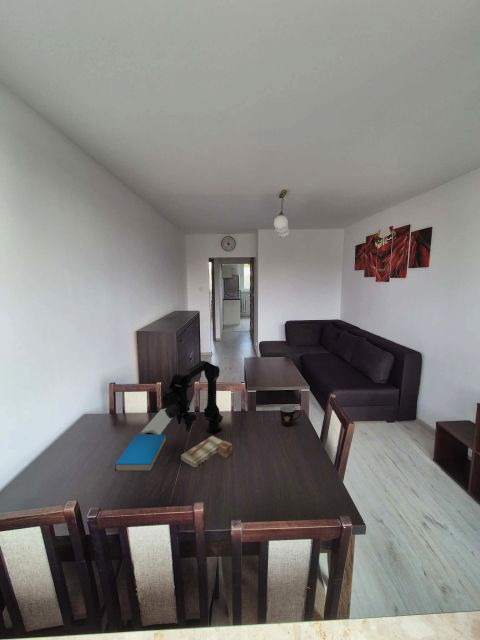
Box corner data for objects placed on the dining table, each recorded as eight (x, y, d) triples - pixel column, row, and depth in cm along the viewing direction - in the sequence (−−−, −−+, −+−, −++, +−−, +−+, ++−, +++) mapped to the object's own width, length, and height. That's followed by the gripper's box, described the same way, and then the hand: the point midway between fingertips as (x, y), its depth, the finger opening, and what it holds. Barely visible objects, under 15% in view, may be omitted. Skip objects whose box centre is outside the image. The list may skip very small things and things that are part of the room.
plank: (212, 439, 154) (212, 435, 153) (225, 446, 148) (225, 441, 147) (181, 459, 137) (180, 455, 136) (194, 467, 131) (194, 463, 130)
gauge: (224, 449, 145) (224, 439, 144) (232, 453, 142) (232, 442, 141) (218, 454, 141) (218, 443, 140) (225, 458, 138) (225, 447, 137)
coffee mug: (277, 425, 169) (277, 409, 167) (283, 419, 176) (283, 404, 174) (295, 430, 162) (295, 414, 161) (300, 424, 169) (301, 409, 168)
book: (165, 434, 153) (151, 463, 129) (166, 441, 154) (151, 471, 129) (135, 434, 154) (114, 463, 129) (135, 441, 154) (115, 471, 129)
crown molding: (159, 411, 189) (159, 406, 188) (177, 412, 188) (176, 407, 187) (139, 435, 160) (139, 429, 160) (160, 436, 159) (160, 430, 158)
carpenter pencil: (207, 440, 149) (207, 439, 148) (209, 441, 148) (209, 440, 148) (190, 454, 137) (190, 453, 137) (191, 455, 136) (191, 454, 136)
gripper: (159, 396, 140) (160, 425, 142) (174, 410, 125) (176, 442, 128) (179, 391, 147) (180, 418, 149) (196, 403, 132) (197, 433, 134)
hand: (183, 427), depth 140 cm, fingers open, 9 cm apart
